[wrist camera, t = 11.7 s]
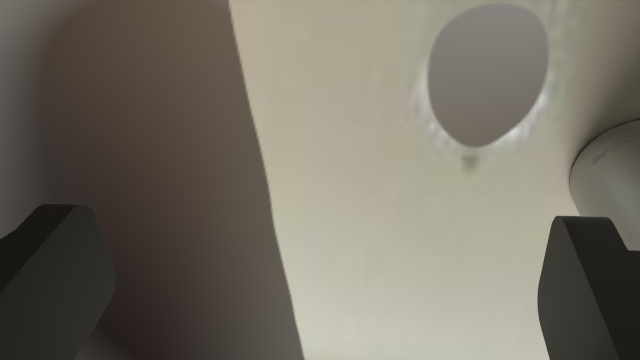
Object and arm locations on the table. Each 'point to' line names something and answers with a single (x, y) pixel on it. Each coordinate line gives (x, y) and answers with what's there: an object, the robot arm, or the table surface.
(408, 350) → the table surface
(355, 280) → the table surface
